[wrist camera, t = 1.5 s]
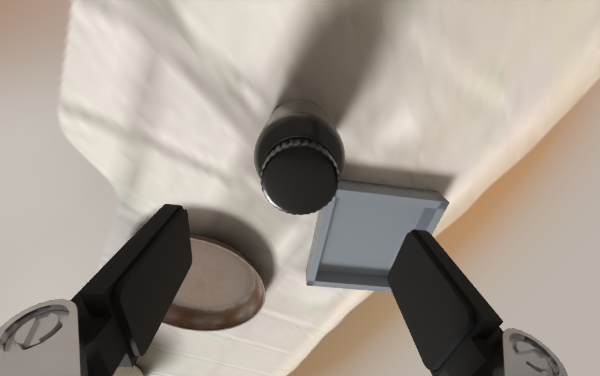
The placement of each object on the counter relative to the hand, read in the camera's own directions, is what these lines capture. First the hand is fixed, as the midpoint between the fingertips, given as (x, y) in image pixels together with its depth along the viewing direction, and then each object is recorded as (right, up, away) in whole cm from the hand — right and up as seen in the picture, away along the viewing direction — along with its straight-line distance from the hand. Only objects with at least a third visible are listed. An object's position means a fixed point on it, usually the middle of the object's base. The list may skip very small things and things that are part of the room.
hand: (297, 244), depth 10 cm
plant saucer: (-15, -11, +25) cm, 31 cm away
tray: (+9, -4, +21) cm, 24 cm away
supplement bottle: (0, +9, +14) cm, 17 cm away
